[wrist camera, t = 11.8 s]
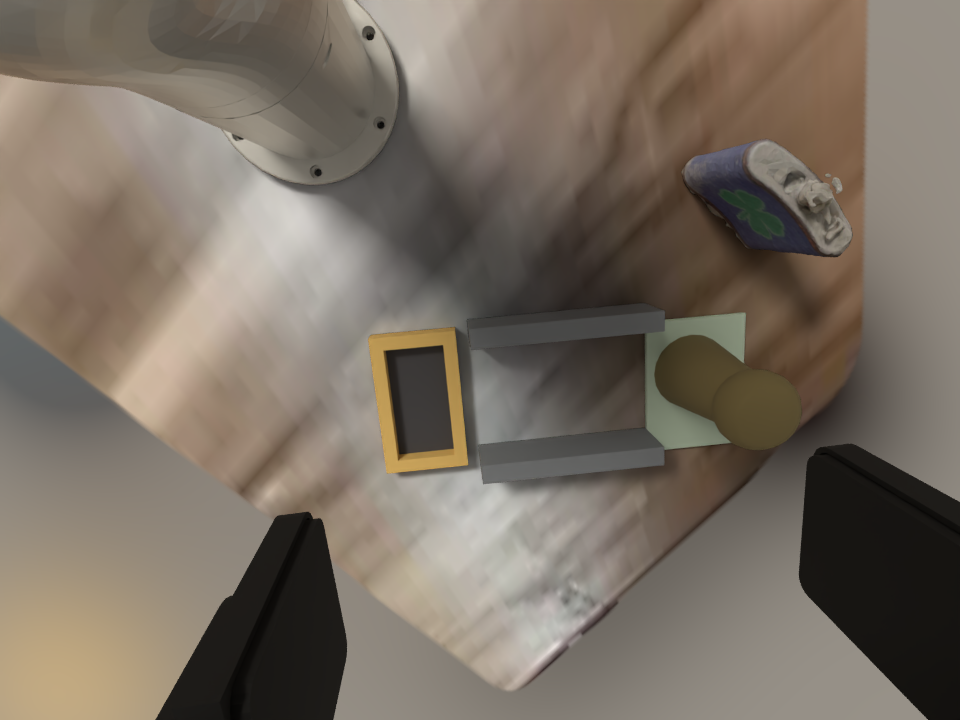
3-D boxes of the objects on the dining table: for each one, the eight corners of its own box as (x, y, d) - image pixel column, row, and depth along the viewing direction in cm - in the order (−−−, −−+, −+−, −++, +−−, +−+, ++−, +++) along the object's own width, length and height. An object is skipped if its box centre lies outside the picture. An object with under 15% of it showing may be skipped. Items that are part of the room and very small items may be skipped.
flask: (673, 175, 39) (755, 157, 29) (701, 143, 39) (795, 113, 28) (753, 258, 41) (857, 269, 31) (781, 229, 41) (895, 230, 30)
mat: (644, 321, 42) (646, 322, 41) (743, 312, 42) (745, 313, 42) (645, 449, 45) (647, 451, 44) (737, 439, 45) (740, 441, 45)
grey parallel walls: (467, 319, 41) (469, 329, 37) (644, 302, 41) (664, 310, 38) (480, 461, 44) (483, 484, 40) (645, 444, 44) (664, 465, 41)
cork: (725, 402, 44) (816, 459, 33) (654, 409, 43) (721, 469, 33) (728, 331, 42) (824, 366, 31) (654, 338, 42) (725, 376, 31)
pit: (370, 334, 41) (368, 339, 39) (454, 327, 41) (455, 330, 40) (388, 465, 44) (386, 473, 42) (467, 457, 44) (468, 465, 42)
